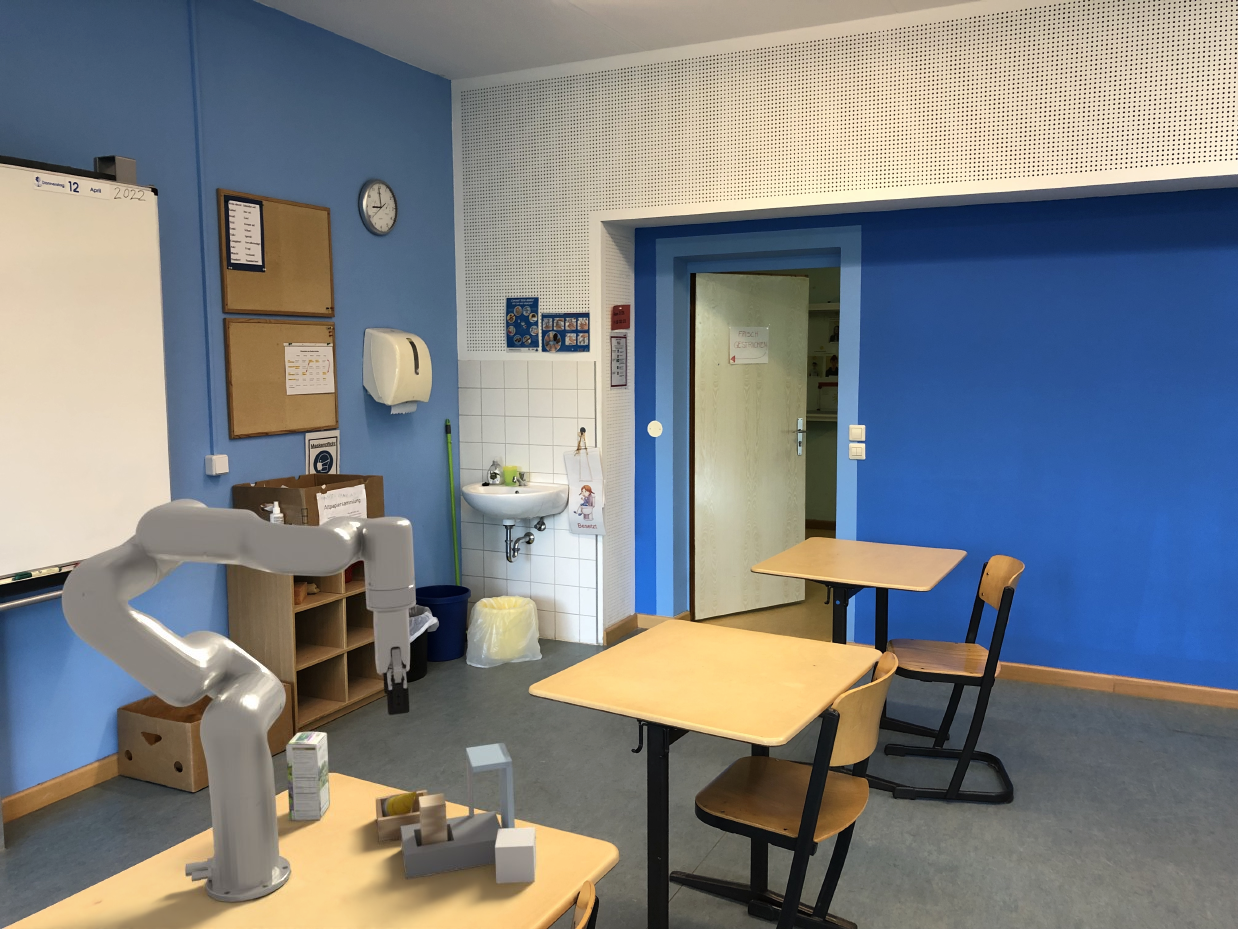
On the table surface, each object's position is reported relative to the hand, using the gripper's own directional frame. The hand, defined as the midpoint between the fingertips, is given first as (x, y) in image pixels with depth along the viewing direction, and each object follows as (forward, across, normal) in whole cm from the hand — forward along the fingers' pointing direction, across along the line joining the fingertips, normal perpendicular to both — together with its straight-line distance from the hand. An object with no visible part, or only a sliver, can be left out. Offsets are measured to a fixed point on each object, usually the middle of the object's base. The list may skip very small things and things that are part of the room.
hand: (396, 702), depth 149 cm
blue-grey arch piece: (+28, -4, +15) cm, 32 cm away
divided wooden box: (+28, -16, +1) cm, 33 cm away
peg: (+28, -3, +5) cm, 29 cm away
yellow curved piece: (+28, -16, +1) cm, 32 cm away
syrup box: (+28, -27, -15) cm, 42 cm away
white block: (+29, +6, +17) cm, 34 cm away
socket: (+28, -3, +8) cm, 30 cm away
